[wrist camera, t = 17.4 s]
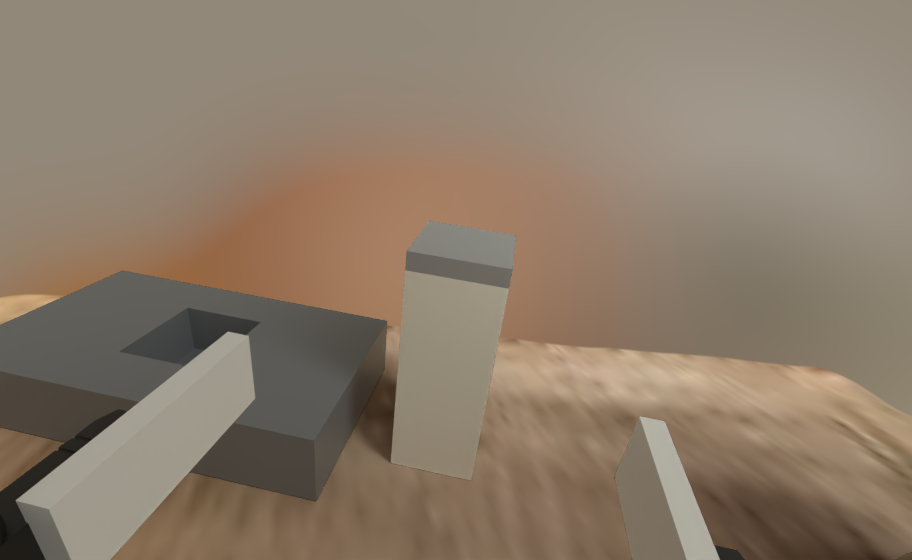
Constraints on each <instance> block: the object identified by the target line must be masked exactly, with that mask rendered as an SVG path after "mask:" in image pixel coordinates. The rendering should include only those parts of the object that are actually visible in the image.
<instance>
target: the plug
mask: <svg viewBox="0 0 912 560" xmlns="http://www.w3.org/2000/svg"><path fill="white" fill-rule="evenodd" d="M515 238H516V236H515V235H511V234H505V233H499V232H493V231H487V230H481V229H475V228H469V227H463V226H457V225H451V224H445V223H439V222H433V221H429V222H428V224H427V225H426V226H425V228H424V229H423V230H422V231H421V233H420V234H419V235H418V237H417V238H416V239H415V241H414V242H413V243H412V245H411V246H410V247H409V249H408V250H407V255H406V269H405V281H404V295H403V307H402V321H401V334H400V347H399V360H398V373H397V386H396V399H395V412H394V426H393V439H392V452H391V463H393V464H397V465H402V466H406V467H411V468H415V469H420V470H424V471H429V472H433V473H438V474H442V475H447V476H451V477H456V478H460V479H465V480H469V481H471V479H472V474H473V469H474V464H475V459H476V454H477V449H478V443H479V438H480V433H481V428H482V423H483V418H484V413H485V408H486V403H487V398H488V393H489V387H490V382H491V377H492V372H493V367H494V362H495V357H496V352H497V347H498V342H499V337H500V331H501V326H502V321H503V316H504V311H505V306H506V301H507V296H508V291H509V286H510V280H511V275H512V270H513V260H514V249H515Z"/></svg>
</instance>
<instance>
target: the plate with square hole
mask: <svg viewBox="0 0 912 560" xmlns="http://www.w3.org/2000/svg"><path fill="white" fill-rule="evenodd" d="M227 332H232V333H237V334H242V335H247V336H249V344H250V353H251V362H252V372H253V381H254V390H255V399H254V400H253V401H252V403H251V404H250V405H249V406H248V407H247V408H246V409H245V410H244V411H243V413H242V414H241V415H240V416H239V417H238V418H237V419H236V420H235V421H234V423H233V424H232V425H231V426H230V427H229V428H228V429H227V430H226V432H225V433H224V434H223V435H222V436H221V437H220V438H219V439H218V440H217V442H216V443H215V444H214V445H213V446H212V447H211V448H210V449H209V450H208V452H207V453H206V454H205V455H204V456H203V457H202V458H201V459H200V460H199V462H198V463H197V464H196V465H195V466H194V467H193V468H192V469H191V470H190V472H193V473H198V474H202V475H206V476H211V477H215V478H219V479H223V480H228V481H232V482H236V483H240V484H245V485H249V486H253V487H257V488H262V489H266V490H270V491H275V492H279V493H283V494H287V495H292V496H296V497H300V498H304V499H309V500H313V501H317V499H318V497H319V495H320V493H321V491H322V489H323V487H324V485H325V483H326V481H327V479H328V477H329V475H330V474H331V472H332V470H333V468H334V466H335V464H336V462H337V460H338V458H339V456H340V454H341V452H342V450H343V448H344V446H345V444H346V443H347V441H348V439H349V437H350V435H351V433H352V431H353V429H354V427H355V425H356V423H357V421H358V419H359V417H360V415H361V413H362V412H363V410H364V408H365V406H366V404H367V402H368V400H369V398H370V396H371V394H372V392H373V390H374V388H375V386H376V384H377V383H378V381H379V379H380V377H381V375H382V373H383V371H384V368H385V351H386V334H387V321H385V320H379V319H373V318H369V317H364V316H358V315H353V314H348V313H343V312H337V311H332V310H327V309H322V308H316V307H311V306H306V305H301V304H295V303H290V302H284V301H279V300H274V299H269V298H264V297H258V296H253V295H248V294H243V293H238V292H232V291H227V290H222V289H217V288H211V287H206V286H201V285H195V284H190V283H185V282H180V281H174V280H169V279H164V278H159V277H154V276H148V275H143V274H138V273H133V272H127V271H120V272H118V273H116V274H113V275H111V276H109V277H107V278H104V279H102V280H100V281H98V282H95V283H93V284H91V285H89V286H87V287H84V288H82V289H80V290H78V291H75V292H73V293H71V294H69V295H66V296H64V297H62V298H60V299H57V300H55V301H53V302H51V303H48V304H46V305H44V306H42V307H40V308H37V309H35V310H33V311H31V312H28V313H26V314H24V315H22V316H19V317H17V318H15V319H13V320H10V321H8V322H6V323H4V324H1V325H0V427H2V428H6V429H10V430H14V431H19V432H23V433H27V434H31V435H36V436H40V437H44V438H48V439H53V440H57V441H61V442H67V441H68V440H70V439H71V438H75V435H76V434H78V433H79V432H80V431H82V430H83V429H84V428H86V427H87V426H88V425H90V424H91V423H92V422H94V421H95V420H97V419H99V418H101V417H103V416H105V415H107V414H109V413H111V412H114V411H116V410H118V409H120V410H125V411H129V410H130V409H131V408H133V407H134V406H135V405H136V404H138V403H139V402H140V401H141V400H143V399H144V398H145V397H146V396H148V395H149V394H150V393H151V392H153V391H154V390H155V389H156V388H158V387H159V386H160V385H162V384H163V383H164V382H165V381H167V380H168V379H169V378H170V377H172V376H173V375H174V374H175V373H177V372H178V371H179V370H180V369H182V368H183V367H184V366H185V365H187V364H188V363H189V362H190V361H192V360H193V359H194V358H195V357H197V356H198V355H199V354H201V353H202V352H203V351H204V350H206V349H207V348H208V347H209V346H211V345H212V344H213V343H214V342H216V341H217V340H218V339H219V338H221V337H222V336H223V335H224V334H226V333H227Z"/></svg>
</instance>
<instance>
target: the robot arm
mask: <svg viewBox="0 0 912 560" xmlns="http://www.w3.org/2000/svg"><path fill="white" fill-rule="evenodd" d="M254 399H255V390H254V381H253V372H252V362H251V353H250V344H249V336H247V335H242V334H237V333H232V332H227V333H226V334H224V335H223V336H222V337H221V338H219V339H218V340H217V341H216V342H214V343H213V344H212V345H211V346H209V347H208V348H207V349H206V350H204V351H203V352H202V353H201V354H199V355H198V356H197V357H195V358H194V359H193V360H192V361H190V362H189V363H188V364H187V365H185V366H184V367H183V368H182V369H180V370H179V371H178V372H177V373H175V374H174V375H173V376H172V377H170V378H169V379H168V380H167V381H165V382H164V383H163V384H162V385H160V386H159V387H158V388H156V389H155V390H154V391H153V392H151V393H150V394H149V395H148V396H146V397H145V398H144V399H143V400H141V401H140V402H139V403H138V404H136V405H135V406H134V407H133V408H131V409H130V410H129V411H125V410H120V409H118V410H116V411H114V412H111V413H109V414H107V415H105V416H103V417H101V418H99V419H97V420H95V421H94V422H92V423H91V424H90V425H88V426H87V427H86V428H84V429H83V430H82V431H80V432H79V433H78V434H76V435H75V438H71V439H70V440H68V441H67V442H66V443H64V444H63V445H62V446H61V447H59V450H58V451H54V452H53V453H51V454H50V455H49V456H47V457H46V458H45V459H43V460H42V461H41V462H39V463H38V464H37V465H35V466H34V467H33V468H31V469H30V470H29V471H27V472H26V473H25V474H23V475H22V476H21V477H19V478H18V479H17V480H16V481H14V482H13V483H12V484H10V485H9V486H8V487H6V488H5V489H4V490H2V491H1V492H0V560H111V558H112V557H113V556H114V555H115V554H116V553H117V552H118V551H119V550H120V548H121V547H122V546H123V545H124V544H125V543H126V542H127V541H128V540H129V538H130V537H131V536H132V535H133V534H134V533H135V532H136V531H137V530H138V528H139V527H140V526H141V525H142V524H143V523H144V522H145V521H146V519H147V518H148V517H149V516H150V515H151V514H152V513H153V512H154V511H155V509H156V508H157V507H158V506H159V505H160V504H161V503H162V502H163V501H164V499H165V498H166V497H167V496H168V495H169V494H170V493H171V492H172V491H173V489H174V488H175V487H176V486H177V485H178V484H179V483H180V482H181V481H182V479H183V478H184V477H185V476H186V475H187V474H188V473H189V472H190V470H191V469H192V468H193V467H194V466H195V465H196V464H197V463H198V462H199V460H200V459H201V458H202V457H203V456H204V455H205V454H206V453H207V452H208V450H209V449H210V448H211V447H212V446H213V445H214V444H215V443H216V442H217V440H218V439H219V438H220V437H221V436H222V435H223V434H224V433H225V432H226V430H227V429H228V428H229V427H230V426H231V425H232V424H233V423H234V421H235V420H236V419H237V418H238V417H239V416H240V415H241V414H242V413H243V411H244V410H245V409H246V408H247V407H248V406H249V405H250V404H251V403H252V401H253V400H254ZM615 482H616V486H617V491H618V496H619V501H620V505H621V510H622V515H623V519H624V524H625V529H626V533H627V538H628V543H629V548H630V552H631V557H632V560H745V559H744V558H743V557H742V556H741V554H740V553H739V552H738V551H737V550H733V549H728V548H724V547H720V546H715V545H714V544H713V541H712V539H711V536H710V534H709V531H708V529H707V526H706V524H705V521H704V519H703V516H702V514H701V511H700V509H699V506H698V504H697V501H696V499H695V496H694V494H693V491H692V489H691V486H690V484H689V481H688V479H687V476H686V474H685V471H684V469H683V466H682V464H681V461H680V459H679V456H678V454H677V451H676V449H675V446H674V444H673V441H672V439H671V436H670V434H669V431H668V429H667V426H666V424H665V421H661V420H656V419H651V418H646V417H642V416H639V418H638V421H637V423H636V426H635V428H634V431H633V433H632V436H631V438H630V441H629V443H628V445H627V448H626V450H625V453H624V455H623V458H622V460H621V463H620V465H619V468H618V470H617V473H616V475H615ZM896 560H912V552H910V553H907V554H905V555H903V556H901V557H899V558H897V559H896Z"/></svg>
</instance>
